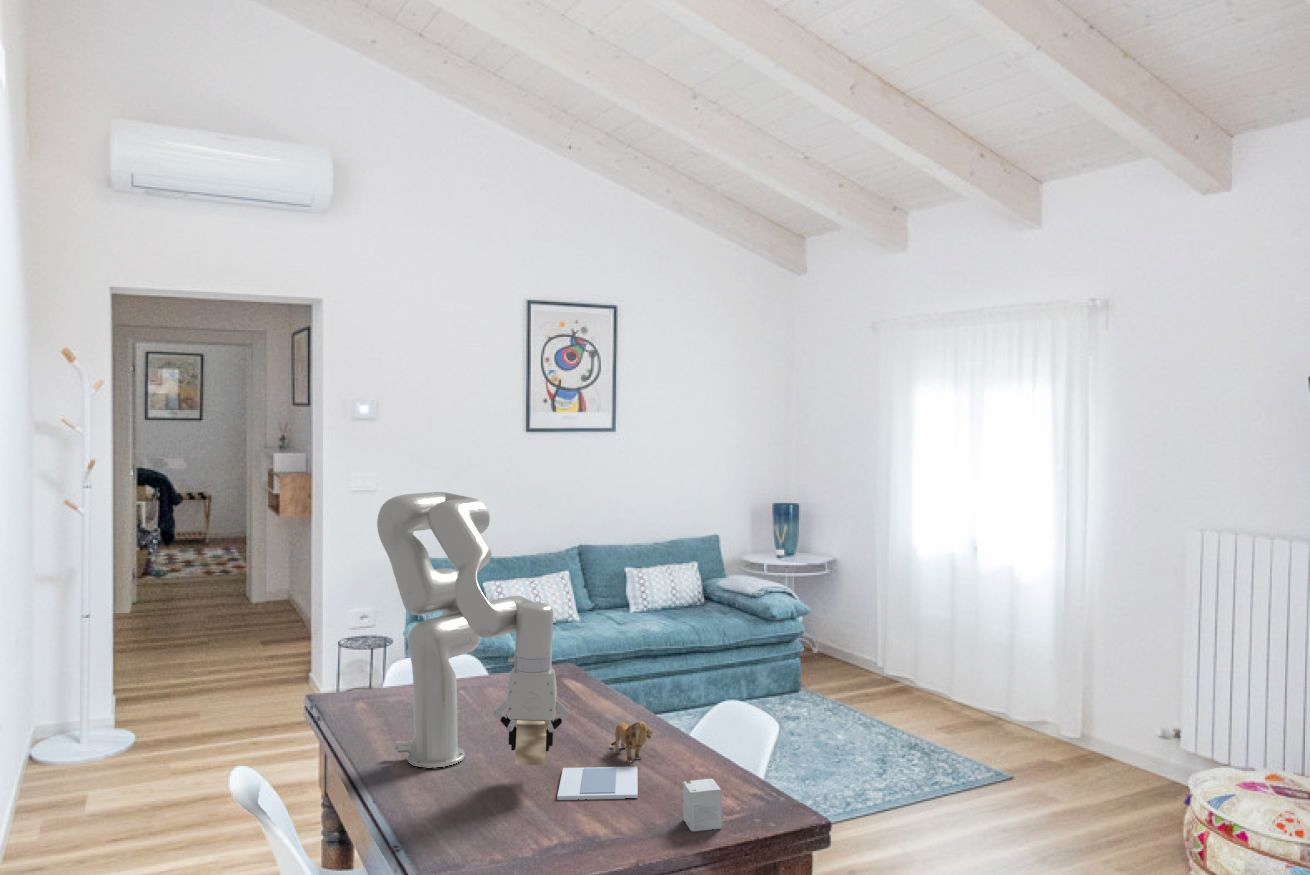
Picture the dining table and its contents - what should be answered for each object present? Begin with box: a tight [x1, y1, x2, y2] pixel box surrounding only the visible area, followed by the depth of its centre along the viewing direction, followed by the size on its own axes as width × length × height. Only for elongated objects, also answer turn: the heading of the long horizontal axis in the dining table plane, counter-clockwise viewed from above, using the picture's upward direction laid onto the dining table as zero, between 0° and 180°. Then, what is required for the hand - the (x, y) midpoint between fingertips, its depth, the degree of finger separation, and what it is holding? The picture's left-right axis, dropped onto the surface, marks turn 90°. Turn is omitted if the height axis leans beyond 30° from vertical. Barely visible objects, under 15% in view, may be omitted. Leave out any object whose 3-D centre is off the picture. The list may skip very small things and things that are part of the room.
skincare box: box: [682, 778, 723, 832], centre depth 184 cm, size 6×6×7 cm
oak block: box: [514, 720, 547, 766], centre depth 205 cm, size 6×13×6 cm, turn 7°
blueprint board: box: [556, 766, 639, 801], centre depth 204 cm, size 16×16×1 cm
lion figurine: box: [610, 721, 654, 763], centre depth 222 cm, size 15×5×9 cm, turn 35°
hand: (530, 747), depth 205 cm, fingers closed on oak block, 6 cm apart
